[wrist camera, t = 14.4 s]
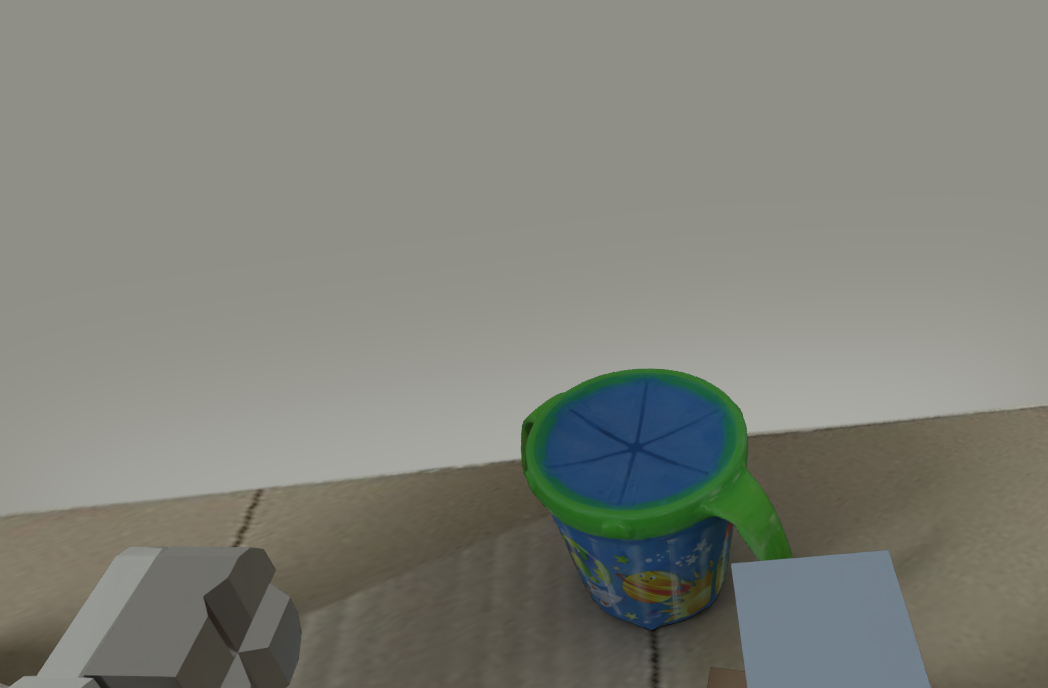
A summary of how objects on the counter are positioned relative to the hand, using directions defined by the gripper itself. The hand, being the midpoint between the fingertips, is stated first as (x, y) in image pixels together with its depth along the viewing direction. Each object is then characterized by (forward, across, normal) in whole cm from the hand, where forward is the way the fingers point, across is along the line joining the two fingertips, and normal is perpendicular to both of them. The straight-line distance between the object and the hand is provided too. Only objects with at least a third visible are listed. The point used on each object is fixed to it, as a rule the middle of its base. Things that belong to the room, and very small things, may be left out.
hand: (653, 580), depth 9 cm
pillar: (+13, +3, -28) cm, 31 cm away
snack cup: (+27, -5, -32) cm, 42 cm away
